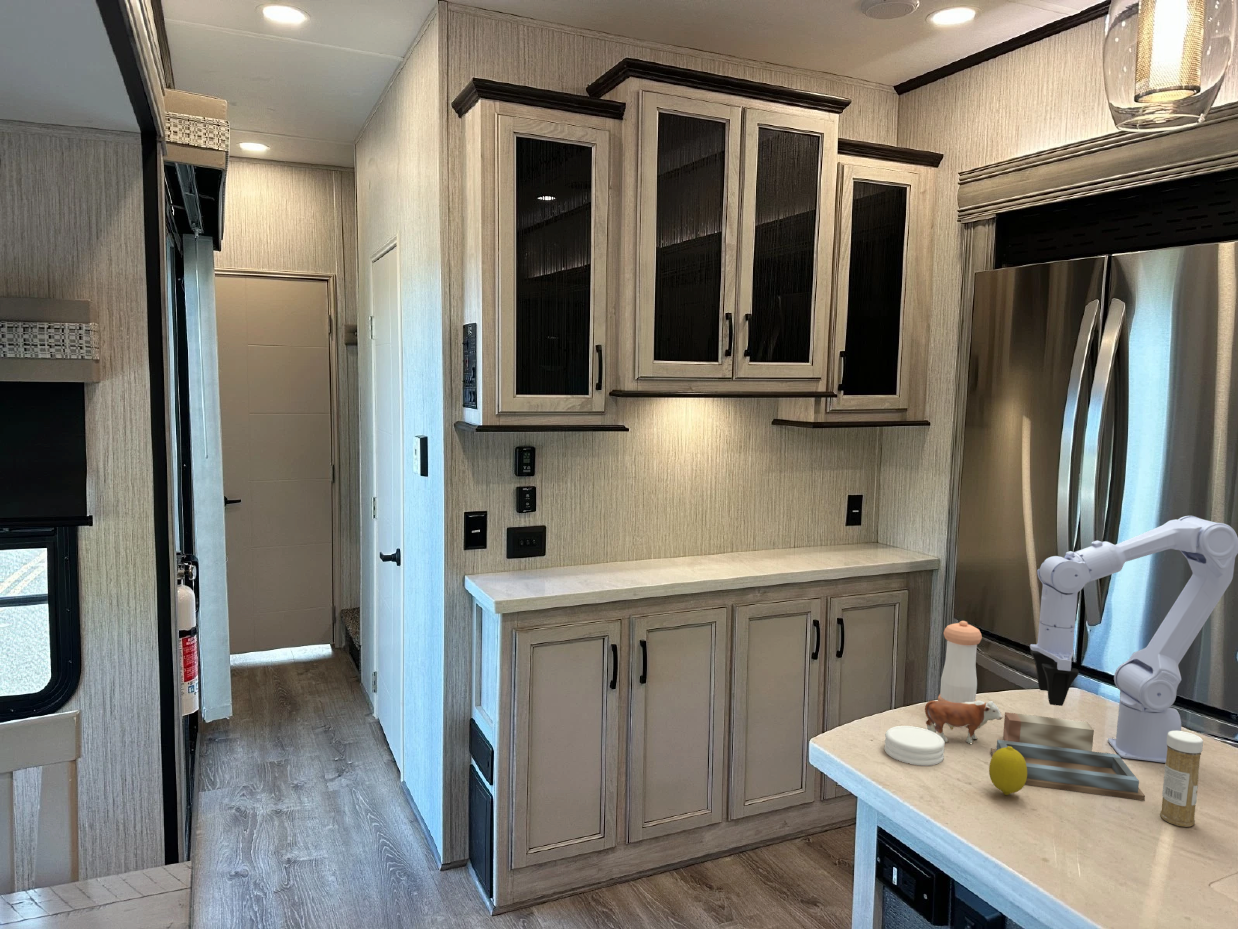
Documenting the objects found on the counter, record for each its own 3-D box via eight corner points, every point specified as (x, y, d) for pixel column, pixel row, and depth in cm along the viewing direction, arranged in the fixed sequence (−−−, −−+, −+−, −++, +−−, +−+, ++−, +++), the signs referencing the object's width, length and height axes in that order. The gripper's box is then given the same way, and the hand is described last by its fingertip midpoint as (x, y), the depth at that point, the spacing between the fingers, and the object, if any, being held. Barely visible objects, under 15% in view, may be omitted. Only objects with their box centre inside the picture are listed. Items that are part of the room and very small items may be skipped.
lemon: (1023, 790, 141) (1027, 743, 140) (1026, 806, 136) (1031, 756, 135) (986, 784, 143) (989, 737, 142) (988, 799, 137) (992, 750, 137)
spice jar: (1202, 827, 131) (1211, 740, 130) (1176, 829, 130) (1185, 742, 129) (1176, 812, 136) (1184, 728, 134) (1151, 814, 135) (1160, 730, 133)
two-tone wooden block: (1085, 748, 159) (1087, 721, 159) (1091, 757, 155) (1093, 730, 155) (1002, 738, 162) (1005, 712, 162) (1007, 746, 159) (1009, 720, 158)
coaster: (939, 772, 147) (940, 752, 147) (878, 758, 152) (880, 739, 151) (947, 751, 156) (948, 732, 156) (890, 739, 161) (891, 720, 160)
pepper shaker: (982, 723, 169) (989, 627, 167) (944, 722, 169) (951, 625, 167) (967, 709, 176) (975, 617, 175) (931, 708, 176) (938, 615, 175)
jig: (1120, 769, 151) (1121, 753, 150) (1144, 800, 139) (1146, 783, 139) (990, 752, 156) (991, 737, 155) (1003, 781, 144) (1004, 765, 144)
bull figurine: (1002, 750, 157) (1005, 706, 156) (923, 741, 160) (927, 698, 159) (996, 740, 161) (1000, 697, 160) (920, 732, 164) (923, 690, 163)
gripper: (1024, 611, 165) (1018, 681, 166) (1042, 632, 151) (1035, 708, 152) (1064, 615, 163) (1058, 686, 164) (1087, 636, 149) (1080, 713, 150)
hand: (1050, 697), depth 158 cm, fingers open, 7 cm apart
